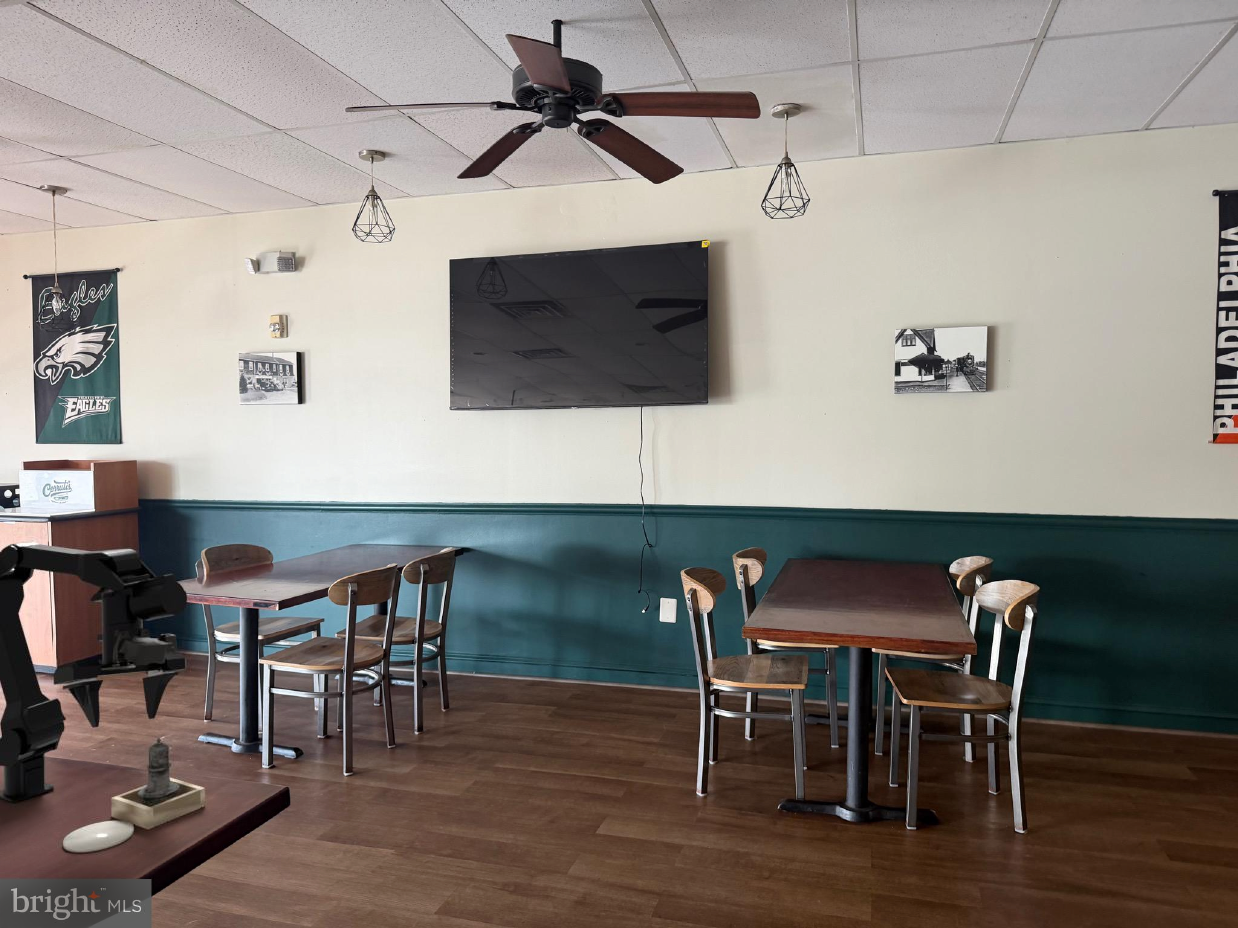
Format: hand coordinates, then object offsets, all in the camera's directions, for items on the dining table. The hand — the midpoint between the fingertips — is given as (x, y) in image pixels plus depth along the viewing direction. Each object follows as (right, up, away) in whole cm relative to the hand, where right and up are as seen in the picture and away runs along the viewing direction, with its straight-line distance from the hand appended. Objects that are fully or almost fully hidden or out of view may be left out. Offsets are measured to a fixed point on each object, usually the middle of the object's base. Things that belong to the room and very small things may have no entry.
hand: (124, 722), depth 131 cm
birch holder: (+5, -15, +2) cm, 16 cm away
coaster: (+1, -15, -8) cm, 17 cm away
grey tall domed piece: (+5, -15, +2) cm, 16 cm away
